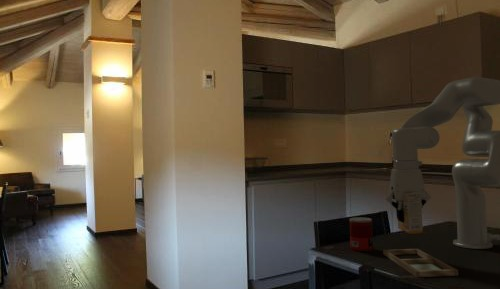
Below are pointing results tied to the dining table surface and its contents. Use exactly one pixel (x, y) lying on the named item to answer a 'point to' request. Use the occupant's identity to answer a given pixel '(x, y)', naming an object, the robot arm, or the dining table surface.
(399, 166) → the robot arm
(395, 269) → the dining table surface
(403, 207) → the supplement box
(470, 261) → the dining table surface
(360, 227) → the canned food
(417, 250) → the wooden divided tray
